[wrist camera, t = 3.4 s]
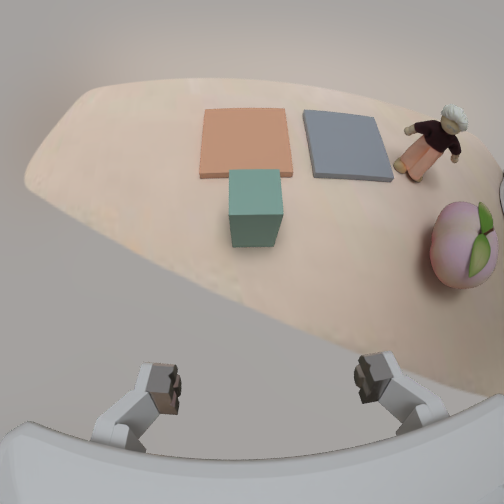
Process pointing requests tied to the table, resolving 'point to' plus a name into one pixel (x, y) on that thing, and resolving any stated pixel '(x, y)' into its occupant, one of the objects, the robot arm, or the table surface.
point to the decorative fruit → (464, 245)
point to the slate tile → (346, 146)
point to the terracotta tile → (244, 141)
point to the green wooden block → (255, 207)
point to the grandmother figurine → (432, 142)
